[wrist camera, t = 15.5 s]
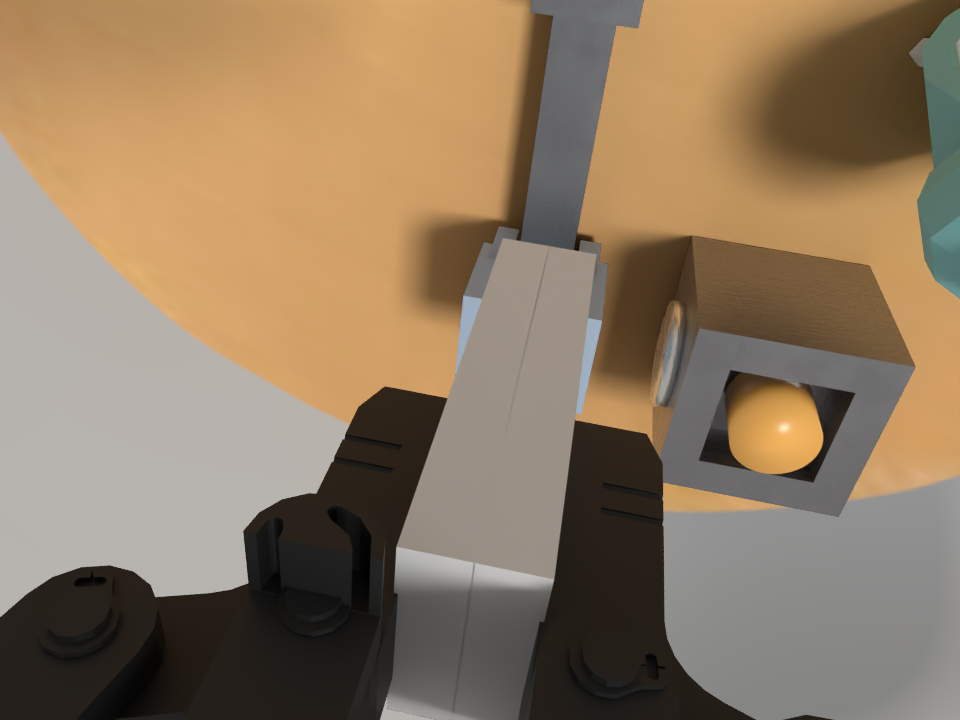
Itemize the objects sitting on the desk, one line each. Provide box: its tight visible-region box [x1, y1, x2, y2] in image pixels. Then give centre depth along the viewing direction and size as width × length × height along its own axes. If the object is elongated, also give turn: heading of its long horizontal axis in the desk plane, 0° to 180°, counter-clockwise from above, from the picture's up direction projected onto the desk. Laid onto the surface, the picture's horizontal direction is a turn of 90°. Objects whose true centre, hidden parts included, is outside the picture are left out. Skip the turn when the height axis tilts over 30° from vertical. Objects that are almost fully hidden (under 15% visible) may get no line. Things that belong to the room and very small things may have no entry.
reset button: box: [725, 372, 823, 474], centre depth 42 cm, size 4×4×4 cm
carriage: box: [455, 226, 608, 414], centre depth 46 cm, size 6×7×8 cm
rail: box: [521, 0, 644, 250], centre depth 45 cm, size 22×5×4 cm, turn 174°
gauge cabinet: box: [650, 236, 915, 517], centre depth 45 cm, size 10×11×10 cm
